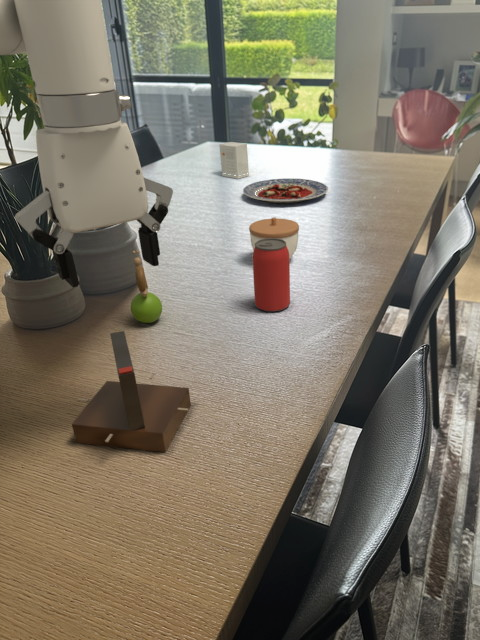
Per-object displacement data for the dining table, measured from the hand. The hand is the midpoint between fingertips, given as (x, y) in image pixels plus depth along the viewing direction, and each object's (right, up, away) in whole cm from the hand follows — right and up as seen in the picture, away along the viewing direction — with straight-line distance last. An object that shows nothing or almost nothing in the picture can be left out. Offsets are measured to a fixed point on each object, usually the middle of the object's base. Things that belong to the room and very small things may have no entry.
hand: (113, 272), depth 64 cm
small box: (+4, +57, +127) cm, 139 cm away
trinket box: (+18, +13, +58) cm, 63 cm away
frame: (0, -16, +7) cm, 17 cm away
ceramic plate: (+21, +42, +103) cm, 113 cm away
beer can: (+18, +1, +39) cm, 43 cm away
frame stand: (0, -18, +9) cm, 20 cm away
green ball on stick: (-4, -2, +35) cm, 35 cm away
